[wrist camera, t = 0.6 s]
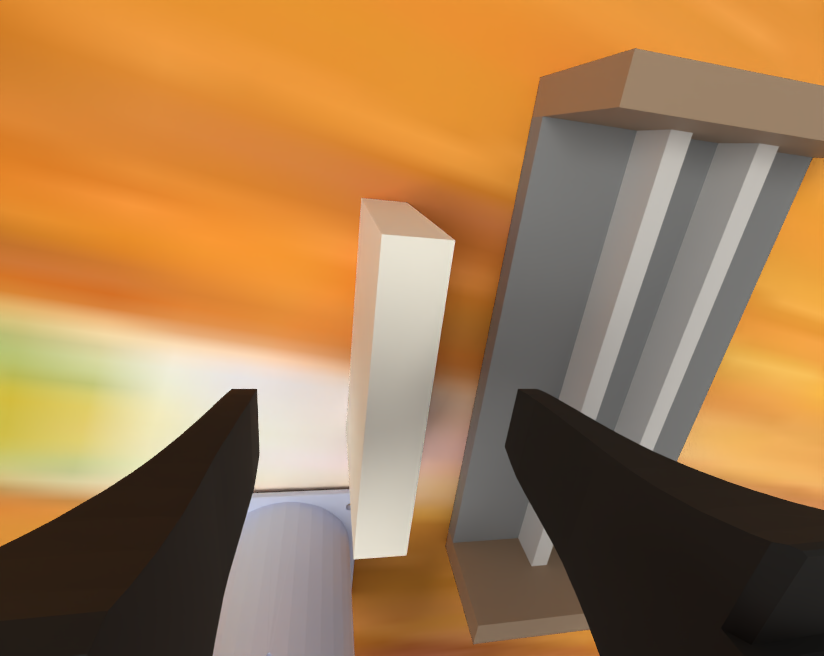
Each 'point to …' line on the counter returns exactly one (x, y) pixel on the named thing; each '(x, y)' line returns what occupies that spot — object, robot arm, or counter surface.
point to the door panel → (392, 368)
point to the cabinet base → (619, 287)
